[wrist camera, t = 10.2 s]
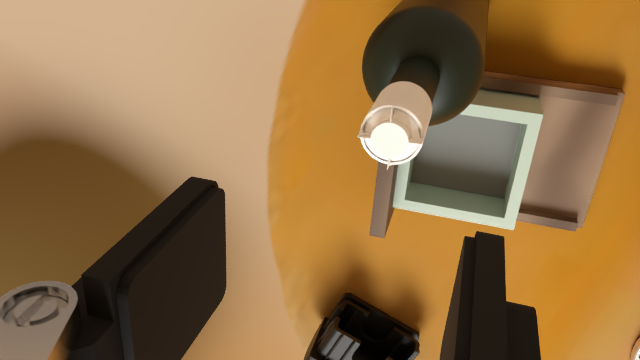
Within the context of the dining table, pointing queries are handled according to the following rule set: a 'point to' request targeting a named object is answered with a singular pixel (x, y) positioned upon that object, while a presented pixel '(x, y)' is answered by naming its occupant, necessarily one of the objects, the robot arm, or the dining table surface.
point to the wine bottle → (421, 73)
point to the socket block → (474, 161)
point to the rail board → (544, 152)
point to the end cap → (362, 335)
